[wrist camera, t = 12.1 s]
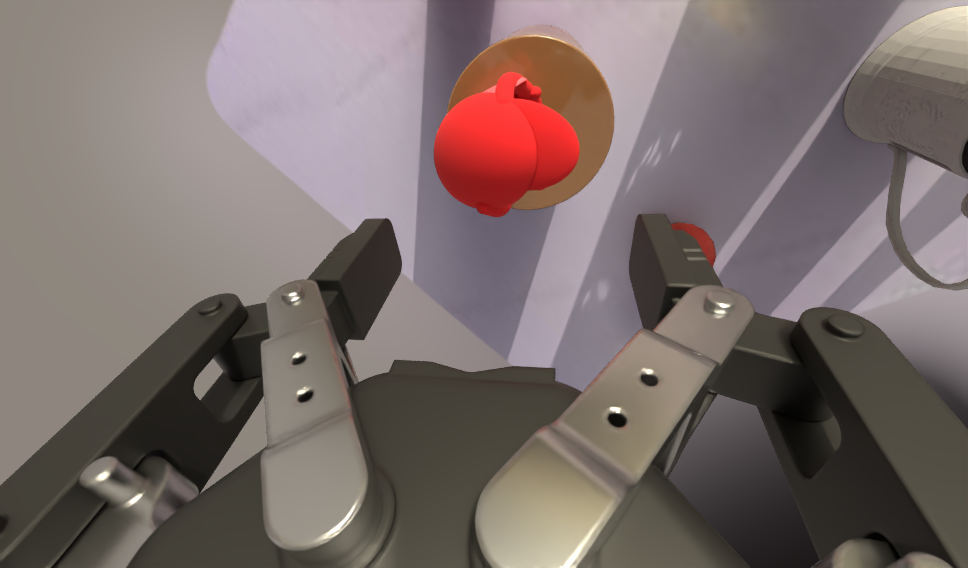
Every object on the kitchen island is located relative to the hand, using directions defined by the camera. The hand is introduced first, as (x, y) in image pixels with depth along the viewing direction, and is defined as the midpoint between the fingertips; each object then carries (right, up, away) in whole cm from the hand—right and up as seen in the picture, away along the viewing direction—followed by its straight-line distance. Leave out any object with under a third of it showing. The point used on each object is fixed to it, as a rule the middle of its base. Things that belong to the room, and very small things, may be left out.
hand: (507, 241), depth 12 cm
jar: (+4, +15, +19) cm, 24 cm away
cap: (+1, +7, +9) cm, 11 cm away
